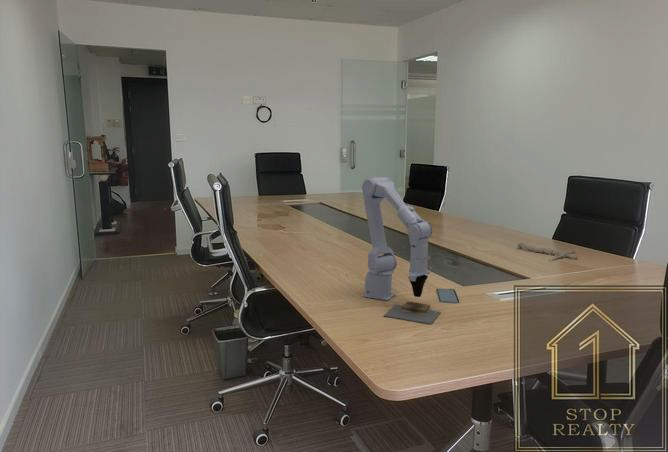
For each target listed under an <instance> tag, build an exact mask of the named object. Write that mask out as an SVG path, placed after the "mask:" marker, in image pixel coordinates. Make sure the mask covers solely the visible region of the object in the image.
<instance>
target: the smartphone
mask: <svg viewBox="0 0 668 452" xmlns="http://www.w3.org/2000/svg"><path fill="white" fill-rule="evenodd" d="M435 291H436V292H437V293H436V295H437V299H439V300H438V302H439V303H440V302H443V303H442V304H456V303H458V304H460V303H461V302H460V299H459V296H458V294H457V290H456V289H453V288H436V289H435ZM459 302H460V303H459Z"/></svg>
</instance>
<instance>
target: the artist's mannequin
mask: <svg viewBox="0 0 668 452" xmlns="http://www.w3.org/2000/svg"><path fill="white" fill-rule="evenodd" d="M516 248H517V250H522V249H523V248H524V249H526V250H528V251H533V252H534V253H541V254H543V253H544V254H546V255H548V254H550V255H549V256H554V257H553V258H551V259H548V262H552V261H551V260H553V261H555V259H556V260H559V259H564V258H563V257H566V258H568V257H569V258H568V259H570V258H573V259H572V260H577V259H578V255H577V254H575V249H574V248H573V249H572V250H570V251H568V252H567V251H564V250H561V249H560V250H554V249H552V248H549V247H548V248H545V247H535V246H532V245H529V244H525V243H523V242H520V243H517V247H516ZM555 255H556V256H555ZM558 258H559V259H558Z"/></svg>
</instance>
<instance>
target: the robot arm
mask: <svg viewBox="0 0 668 452" xmlns="http://www.w3.org/2000/svg"><path fill="white" fill-rule="evenodd" d="M361 190H362V195H363V202H364V208H365V209H364V210H365V213H366V215H365V216H366V219H367V225H368V226H367V227H368V231H369V237H370V243H371V246H372V248H371V250H370V251H369V252H368V253H367V268H368V270H369V271H368V272H367V273H366V275H365V277H364V278H365V280H364V296H363V297H365V298H369V299H375V300H376V299H377V300H382V301H383V300H384V301H389V300H390V299H392V298H393V297H394V296H395V292H392V283H393V282H392V281H393V276H392V275H393V274H394V271H395V270H396V269H397V266H398V262H397V261H398V260H397V257H396V256H395V253H394V250H393V249H392V248H391V247H389V246H388V244H387V238H386V233H385V226H384V221H383V217H382V216H383V214H382V210H381V203H382V201H383V200H384V199H386V200H387V201H388V203H389V204H391V206H392V207H393V208H394V209H395V210H396V211H397V217H398V219H399V220H400V222H401V223H402V224H403V226H405V228H406V229H407V230H406V231H407V237H408V238H409V244H410V255H409V256H410V257H409V258H410V259H409V261H410V263H409V265H410V266H409V271H408V273H409V275H408V281H409V282H410V284H411V288H412V293H413V297H417V298H420V297H422V293H423V289H424V286H425V284H426V281H427V279H428V278H429V277H428V275H430V274H431V270H429V269H428V256H429V255H428V253H429V238H431V237H432V235H433V227H432V225H431V222H429V221H428V220H425V219H422V218H421V216H420V215H419V214H418V213H417V212H416V210H415V207H413V206H411V205H406V203H405V202H404V200H403V199H402V197H401V196H400V195H399V193H398V192H397V191H398V190H396V188H395V183H394V182H393V180H392V179H391V178H390V177H389V176H383V177H366V178H365V180H364V181H363V182H362V185H361Z"/></svg>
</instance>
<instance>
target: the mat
mask: <svg viewBox="0 0 668 452" xmlns="http://www.w3.org/2000/svg"><path fill="white" fill-rule="evenodd" d="M402 306H403V305H400V304H395V305H393V306H391V308H390V309H389V310H388V311H387V312H385V314H384V315H383V317H384V318H390V319H395V320H401V321H406V320H407V322H412V321H413V323H417V324H418V323H419V324H424V323H425V324H424V325H430V324H432V325H433V323H434V322H435V321H436V320H435V319H437V318H438V317H439V316H440V314H441V313H442V312H441V311H438V310H432V309H429V311H428V312H427V313H426V314H425V315H424V314H418V313H412V312H406V311H402ZM438 315H439V316H438ZM434 320H435V321H434Z"/></svg>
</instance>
